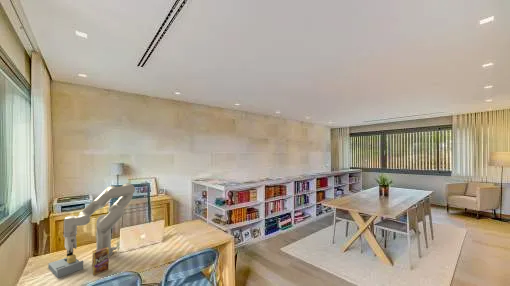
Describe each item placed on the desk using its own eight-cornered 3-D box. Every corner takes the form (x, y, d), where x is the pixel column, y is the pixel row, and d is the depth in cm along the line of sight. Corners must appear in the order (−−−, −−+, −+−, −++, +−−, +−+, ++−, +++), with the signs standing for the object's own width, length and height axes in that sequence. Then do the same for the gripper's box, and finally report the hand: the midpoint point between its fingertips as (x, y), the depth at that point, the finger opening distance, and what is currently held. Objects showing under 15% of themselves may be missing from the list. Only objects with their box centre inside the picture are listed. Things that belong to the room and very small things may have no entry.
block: (73, 259, 164) (73, 254, 164) (75, 261, 162) (75, 255, 162) (66, 262, 161) (67, 256, 161) (68, 263, 158) (68, 258, 158)
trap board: (72, 259, 170) (72, 252, 170) (83, 268, 158) (83, 260, 158) (48, 267, 159) (48, 259, 159) (57, 278, 146) (57, 269, 147)
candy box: (93, 275, 150) (94, 252, 150) (91, 273, 152) (92, 250, 153) (108, 270, 156) (109, 248, 157) (106, 268, 159) (107, 246, 159)
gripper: (80, 234, 163) (79, 259, 163) (73, 229, 172) (72, 253, 171) (67, 237, 157) (66, 263, 156) (60, 232, 165) (60, 257, 165)
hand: (69, 258), depth 164 cm, fingers closed
